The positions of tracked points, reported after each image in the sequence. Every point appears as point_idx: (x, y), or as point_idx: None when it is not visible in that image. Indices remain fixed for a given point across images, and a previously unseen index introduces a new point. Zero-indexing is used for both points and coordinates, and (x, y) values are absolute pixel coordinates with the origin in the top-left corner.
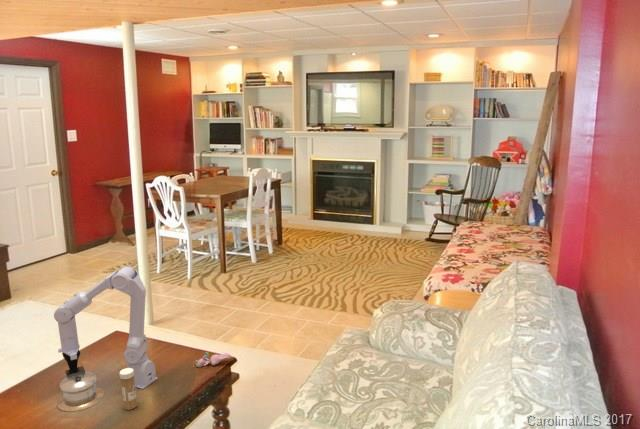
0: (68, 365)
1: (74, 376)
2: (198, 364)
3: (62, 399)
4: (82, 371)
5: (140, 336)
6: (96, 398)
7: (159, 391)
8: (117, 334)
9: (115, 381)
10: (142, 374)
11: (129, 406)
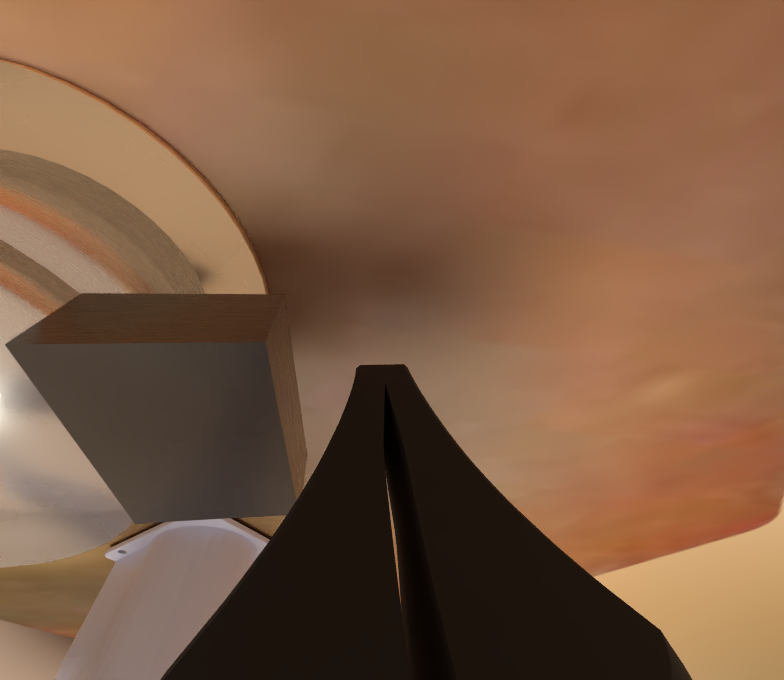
0: (335, 435)
1: (15, 420)
2: None
3: (79, 141)
4: (125, 505)
5: None
6: None
7: (65, 578)
8: (762, 519)
9: None
10: (74, 646)
11: None
